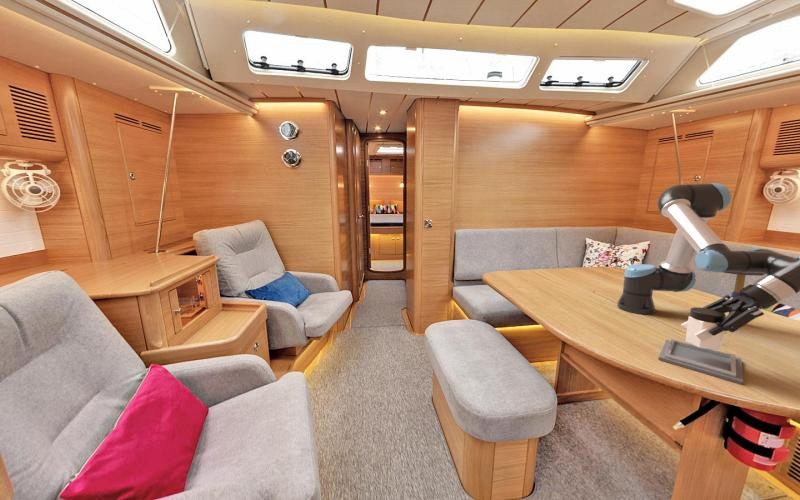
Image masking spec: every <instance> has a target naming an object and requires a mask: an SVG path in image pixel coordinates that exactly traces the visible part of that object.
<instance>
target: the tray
mask: <svg viewBox="0 0 800 500" xmlns="http://www.w3.org/2000/svg"><path fill="white" fill-rule="evenodd" d="M670 341H671V342H670V345H669V347H668V349H667V352H666V355H665V357H666V358H670V359H673V360H677V361H680V362H684V363H687V364H690V365H694V366H697V367H701V368H704V369H708V370H711V371H715V372H718V373H722V374H725V375H729V376H732V377H736V360H735V357H736V355H735V354H732V353H728V352H723V351H720V350H711V349H704V348H699V347H697V346H694V345H692V344H690V343H688V342H683V341H679V340H676V339H671V340H670ZM674 344H676V345H680V346H684V347H688V348H692V349H696V350H700V351H704V352H707V353H711V354H715V355H719V356H723V357H727V358H730V371H728V370H725V369H721V368H718V367H714V366H710V365H707V364H703V363H700V362H696V361H693V360H689V359H685V358H682V357H678V356H675V355H671V352H672V349H673V346H674Z"/></svg>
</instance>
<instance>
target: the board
mask: <svg viewBox="0 0 800 500" xmlns="http://www.w3.org/2000/svg"><path fill="white" fill-rule="evenodd" d="M670 342H671V340H669V339H666V340H665V341H664V345H663V346H662V349H661V352H660V353H659V355H658V360H659V361H662V362H666V363H669V364H670V365H671V364H672V365H675V366H679V367H682V368H686V369H688V370H692V371H695V372H699V373H701V374H702V373H703V374H706V375H708V376H712V377H715V378H719V379H722V380H725V381H730V382H732V383H735V384H738V385H743V384H744V377H743V375H744V374H743V363H742V358H740V357H737V356H735V360H736V377H732V376H729V375H725V374H722V373H718V372H715V371H711V370H708V369H704V368H701V367H697V366H694V365H690V364H687V363H684V362H680V361H677V360H673V359H670V358H666V357H665V355H666V352H667V349H668V347H669V345H670ZM671 355H675V356H678V357H682V358H685V359H689V360H693V361H696V362H700V363H703V364H707V365H710V366H714V367H718V368H721V369H725V370H728V371H730V358H727V357H723V356H719V355H715V354H711V353H707V352H704V351H700V350H696V349H692V348H688V347H684V346H680V345H676V344H674V346H673V349H672V352H671Z"/></svg>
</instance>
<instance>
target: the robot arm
mask: <svg viewBox="0 0 800 500" xmlns="http://www.w3.org/2000/svg"><path fill="white" fill-rule="evenodd" d="M731 199H732V195H731V192H730V190H729V188H728V186H726V185H724V184H721V183H709V182H707V183H706V182H705V183H691V184H689V183H688V184H681V183H680V184H676V185H673V186H670V187H668V188H666V189H665V190H664V191H662V193H660V195H659V197H658V199H657V205H656V206H657V209H658V210H659V212H660V213H661V215H662V216H663V217H665V218H668V219H669V221H671V222H672V223H673V225H674V226H675V227H676V231H675V234H674V237H673V238H672V243H671V245H670V248H669V249H668V250H669V251H668V252H667V253H668V254H667V256H666V259H665V260H663V261H661V262H660V264H659V266H658V267H656V266H655V265H653V264H643V263H640V264H636V263H635V264H630V265H628V266H627V267H625V269H624V273H623V274H624V278H623V288H622V293H621V295H620V297H619V299H618V301H617V306H618V307H619V308H618V307H617V308H618V309H621V310H622V309H623V310H622V311H625V312H629V313H633V314H638V315H639V314H641V315H653V314H655V313H656V306H655V302H654V300H653V292H654V291H657V292H674V293H680V292H681V293H683V292H688V291H690V290H691V289H692V288H693V287H694V286H695V284H696V281H697V279H696V273H695V272H694V270H693V268H692V266H691V263H692V261H693V259H694V257H695V259H694V261H695V265H696V267H697V269H699V270H700V271H703V272H710V273H711V272H712V273H723V272H741V273H764V274H765V275H763V276H762V277H761V278H759V279H757V280H755V281H754V282H753V283H752V284H749V285H747V286H745V287H744V288H743V289H741V290H740V291H739V292H740V295H739V296H737V297H734V298H732V297H731V295H729V294H726V295H724V296H723V297H721V298H720V299H717V300H716V301H714V302H711V303H709V304H707V305H704V306H703V307H702V308H707V309H712V310H717V311H720V312H722V313H724V314H726V313H727V315H726V317H725V318H724V319H723V320H722V321H721V322H720V323H719V322H716V324H713V325H711V326H709V327H707V328H705V329H703V330H702V331H700V332H698V333H696V334H695V335H696V336H697V337H698V338H699V339H700V340H701V341H705V340H706V339H708V338H710V337H712V336H714V335H717V334H719V333H721V332H723V331H724V332H730V333H734V332H736V331H737V330H740V329H741V328H742V327H744V326H746V325H748V323H750V322H751V321H754V320H755V319H757V318H759V317H762V316H763V315H764V316H765V313H764V312H763V311H762V310H761V309H763V310H766V309H767V310H768V309H769V308H771V307H772V306H775V305H777V304H778V302H782V301H783V300H784V301H785V300H786V299H788V298H790V297H792V296H793V295H796V294H797V293H799V292H800V256H799V255H798V256H797V257H793V256H790V255H785V254H782V253H779V252H776V251H774V250H770V249H767V248H766V249H765V248H761V247H753V248H750V249H747V250H731V249H730V248H729V246H727V245H726V244H725V242H723V240H721V239H720V237H719V236H718V235H717V234H716V232H715V231H713V230H712V228H710V227H709V225H707V224H708V221H709V220H711V219H713V218H715V217H716V215H717V213H718V212H720V211H723V210H725V209H727V208H728V207H729V205H730V204H731ZM695 253H696V255H695ZM760 308H761V309H760ZM729 312H730V313H729ZM680 325H681V326H682V327H683V328H684V329H685V330H686V331H687V326H688V320H687V321H685V322H682V323H681V324H680Z"/></svg>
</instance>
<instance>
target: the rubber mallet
mask: <svg viewBox="0 0 800 500" xmlns="http://www.w3.org/2000/svg"><path fill="white" fill-rule="evenodd" d="M722 273H723V274H731V275H736V278H735V284H734V289H733V292H732V293H731V295H730V297H732V298H734V297H737V296H739V295H740V292H739V291H740V290H741V289H743V288H745V287H744V286H745V282H746V281H745V280H746V276H762V277H764V276H766V274H764V273H741V272H722ZM729 313H730V312H728V314H729Z"/></svg>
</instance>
